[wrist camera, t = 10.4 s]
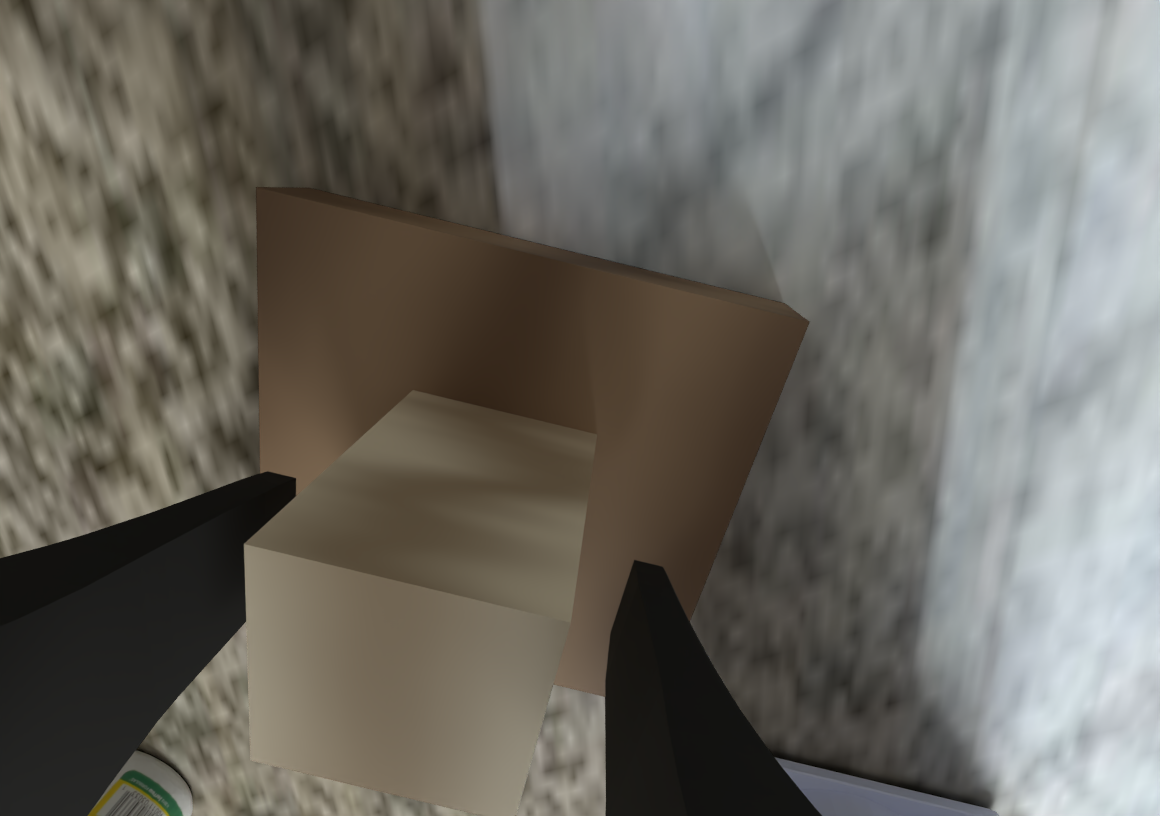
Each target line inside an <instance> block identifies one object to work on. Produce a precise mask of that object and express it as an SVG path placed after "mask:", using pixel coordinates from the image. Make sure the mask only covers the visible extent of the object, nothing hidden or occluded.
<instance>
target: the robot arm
mask: <svg viewBox="0 0 1160 816" xmlns="http://www.w3.org/2000/svg"><path fill="white" fill-rule="evenodd" d="M295 497H296V478H294V477H290V476H285V475H281V474H277V473H273V472H269V471H267V472H264V473H260V474H257V475H254V476H251V477H248V478H245V479H242V480H239V481H236V482H234V483H231V484H228V485H226V486H223V487H220V488H217V489H215V490H212V491H209V492H207V493H204V494H201V495H199V496H196V497H193V498H190V499H188V500H185V501H182V502H179V503H177V504H174V505H171V506H168V507H166V508H163V509H160V510H157V511H155V512H152V513H149V514H146V515H143V516H140V517H137V518H134V519H131V520H128V521H125V522H122V523H119V524H116V525H113V526H110V527H107V528H104V529H101V530H98V531H95V532H92V533H89V534H86V535H82V536H79V537H76V538H72V539H69V540H66V541H62V542H59V543H55V544H52V545H48V546H45V547H41V548H37V549H34V550H30V551H26V552H22V553H18V554H15V555H11V556H7V557H3V558H0V816H88V815H89V813H90V812H91V810H92V809H93V808H94V806H95V805H96V803H97V802H98V801H99V799H100V798H101V796H102V795H103V794H104V792H105V791H106V790H107V788H108V787H109V785H110V784H111V783H112V781H113V780H114V778H115V777H116V776H117V774H118V773H119V772H120V770H121V769H122V768H123V766H124V765H125V764H126V762H127V761H128V760H129V758H130V757H131V756H132V754H133V753H134V752H135V750H136V749H137V748H138V747H139V745H140V744H141V743H142V741H143V740H144V739H145V737H146V736H147V735H148V733H149V732H150V731H151V729H152V728H153V727H154V725H155V724H156V723H157V721H158V720H159V719H160V718H161V716H162V715H163V714H164V713H165V712H166V711H167V709H168V708H169V707H170V706H171V705H172V703H173V702H174V701H175V700H176V699H177V697H178V696H179V695H180V694H181V693H182V692H183V691H184V690H185V688H186V687H187V686H188V685H189V684H190V683H191V682H192V681H193V680H194V679H195V677H196V676H197V675H198V674H199V673H200V672H201V671H202V670H203V669H204V667H205V666H206V665H207V664H208V663H209V662H210V661H211V660H212V659H213V657H214V656H215V655H216V654H217V653H218V652H219V651H220V650H221V649H222V648H223V646H224V645H225V644H226V643H227V642H228V641H229V640H230V639H231V638H232V636H233V635H234V634H235V633H236V632H237V631H238V630H239V629H240V628H241V626H242V625H243V624H244V623H245V622H246V596H245V564H244V543H246V542H247V541H248V540H249V539H250V538H251V537H252V536H253V535H254V534H255V533H257V532H258V531H259V530H260V529H261V528H262V527H263V526H264V525H265V524H266V523H268V522H269V521H270V520H271V519H272V518H273V517H274V516H275V515H276V514H277V513H278V512H280V511H281V510H282V509H283V508H284V507H285V506H286V505H287V504H288V503H289V502H291V501H292V500H293V499H294V498H295ZM605 729H606V816H999V815H998V814H997V813H996V812H995V811H993V810H991V809H988V808H984V807H980V806H975V805H971V804H967V803H963V802H959V801H955V800H950V799H946V798H942V797H938V796H934V795H930V794H926V793H921V792H917V791H913V790H909V789H905V788H901V787H896V786H892V785H888V784H884V783H880V782H876V781H872V780H867V779H863V778H859V777H855V776H851V775H847V774H843V773H838V772H834V771H830V770H826V769H822V768H818V767H813V766H809V765H805V764H801V763H797V762H793V761H789V760H784V759H780V758H776V757H774V756H773V755H772V754H771V752H770V751H769V750H768V748H767V747H766V746H765V744H764V743H763V741H762V740H761V739H760V737H759V736H758V734H757V733H756V732H755V730H754V729H753V727H752V726H751V724H750V723H749V722H748V720H747V719H746V717H745V716H744V715H743V713H742V712H741V710H740V709H739V707H738V705H737V704H736V702H735V701H734V699H733V698H732V696H731V694H730V693H729V691H728V690H727V688H726V686H725V685H724V683H723V681H722V680H721V678H720V676H719V675H718V673H717V671H716V670H715V668H714V666H713V664H712V663H711V661H710V659H709V657H708V656H707V654H706V652H705V650H704V648H703V646H702V644H701V643H700V641H699V639H698V637H697V635H696V633H695V631H694V629H693V627H692V626H691V624H690V622H689V620H688V618H687V616H686V613H685V611H684V609H683V607H682V605H681V603H680V601H679V599H678V597H677V595H676V593H675V590H674V588H673V586H672V584H671V582H670V579H669V577H668V575H667V573H666V571H665V569H664V568H663V567H662V566H658V565H654V564H650V563H646V562H641V561H637V560H634V562H633V565H632V568H631V571H630V574H629V577H628V580H627V583H626V587H625V590H624V593H623V596H622V599H621V602H620V605H619V608H618V611H617V614H616V617H615V620H614V623H613V626H612V629H611V632H610V641H609V650H608V659H607V669H606V679H605Z"/></svg>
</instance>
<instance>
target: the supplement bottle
mask: <svg viewBox="0 0 1160 816" xmlns="http://www.w3.org/2000/svg"><path fill="white" fill-rule="evenodd" d="M192 809H193V800H192V794H191V792H190V789H189V787H188V785H187V784H186V782H185V781H184V780H183V779H182V777H181V776H180V775H179V774H178V773H177V772H176V771H175V770H173V769H172V768H171V767H170V766H168V765H167V764H165V763H164V762H162V761H160V760H159V759H157V758H155V757H153V756H151V755H148V754H146V753H143V752H140V751H137V750H135V752H134V753H133V754H132V756H131V757H130V758H129V760H128V761H127V762H126V764H125V765H124V766H123V768H122V769H121V770H120V772H119V773H118V774H117V776H116V777H115V778H114V780H113V781H112V783H111V784H110V785H109V787H108V788H107V790H106V791H105V792H104V794H103V795H102V796H101V798H100V799H99V801H98V802H97V803H96V805H95V806H94V808H93V809H92V810H91V812H90V813H89V815H88V816H191V814H192Z"/></svg>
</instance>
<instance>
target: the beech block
mask: <svg viewBox="0 0 1160 816" xmlns="http://www.w3.org/2000/svg"><path fill="white" fill-rule="evenodd" d="M596 439H597V434H593V433H589V432H585V431H581V430H577V429H572V428H568V427H564V426H560V425H556V424H552V423H547V422H543V421H539V420H535V419H531V418H527V417H523V416H518V415H514V414H510V413H506V412H502V411H498V410H494V409H489V408H485V407H481V406H477V405H473V404H469V403H465V402H460V401H456V400H452V399H448V398H444V397H440V396H436V395H431V394H427V393H423V392H419V391H415V390H412V391H411V392H410V393H409V394H408V395H407V396H406V397H405V398H404V399H402V400H401V401H400V402H399V403H398V404H397V405H396V406H395V407H394V408H393V409H392V410H390V411H389V412H388V413H387V414H386V415H385V416H384V417H383V418H382V419H381V420H379V421H378V422H377V423H376V424H375V425H374V426H373V427H372V428H371V429H370V430H368V431H367V432H366V433H365V434H364V435H363V436H362V437H361V438H360V439H359V440H357V441H356V442H355V443H354V444H353V445H352V446H351V447H350V448H349V449H348V450H347V451H345V452H344V453H343V454H342V455H341V456H340V457H339V458H338V459H337V460H336V461H334V462H333V463H332V464H331V465H330V466H329V467H328V468H327V469H326V470H325V471H323V472H322V473H321V474H320V475H319V476H318V477H317V478H316V479H315V480H314V481H312V482H311V483H310V484H309V485H308V486H307V487H306V488H305V489H304V490H303V491H302V492H300V493H299V494H298V495H297V496H296V497H295V498H294V499H293V500H292V501H291V502H289V503H288V504H287V505H286V506H285V507H284V508H283V509H282V510H281V511H280V512H278V513H277V514H276V515H275V516H274V517H273V518H272V519H271V520H270V521H269V522H268V523H266V524H265V525H264V526H263V527H262V528H261V529H260V530H259V531H258V532H257V533H255V534H254V535H253V536H252V537H251V538H250V539H249V540H248V541H247V542H246V543H244V564H245V596H246V629H247V662H248V694H249V727H250V760H251V761H255V762H259V763H263V764H267V765H272V766H276V767H280V768H284V769H288V770H292V771H297V772H301V773H305V774H309V775H313V776H317V777H322V778H326V779H330V780H334V781H338V782H342V783H347V784H351V785H355V786H359V787H363V788H368V789H372V790H376V791H380V792H384V793H388V794H393V795H397V796H401V797H405V798H409V799H413V800H418V801H422V802H426V803H430V804H434V805H439V806H443V807H447V808H451V809H455V810H459V811H464V812H468V813H472V814H476V815H480V816H516V814H517V811H518V807H519V804H520V800H521V797H522V793H523V790H524V786H525V783H526V779H527V775H528V772H529V768H530V765H531V761H532V758H533V754H534V751H535V747H536V744H537V740H538V737H539V733H540V730H541V726H542V723H543V719H544V716H545V712H546V709H547V705H548V701H549V698H550V694H551V691H552V687H553V684H554V680H555V677H556V673H557V670H558V666H559V663H560V659H561V656H562V652H563V649H564V645H565V642H566V638H567V634H568V631H569V627H570V624H571V618H572V611H573V604H574V597H575V589H576V582H577V575H578V568H579V561H580V554H581V547H582V539H583V532H584V525H585V518H586V511H587V504H588V496H589V489H590V482H591V475H592V468H593V461H594V453H595V446H596Z"/></svg>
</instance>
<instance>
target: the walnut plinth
mask: <svg viewBox="0 0 1160 816" xmlns="http://www.w3.org/2000/svg"><path fill="white" fill-rule="evenodd" d="M256 214H257V286H258V358H259V430H260V473H264V472H267V471H269V472H273V473H277V474H281V475H285V476H290V477H294V478H296V496H297V495H298V494H299V493H300V492H302V491H303V490H304V489H305V488H306V487H307V486H308V485H309V484H310V483H311V482H312V481H314V480H315V479H316V478H317V477H318V476H319V475H320V474H321V473H322V472H323V471H325V470H326V469H327V468H328V467H329V466H330V465H331V464H332V463H333V462H334V461H336V460H337V459H338V458H339V457H340V456H341V455H342V454H343V453H344V452H345V451H347V450H348V449H349V448H350V447H351V446H352V445H353V444H354V443H355V442H356V441H357V440H359V439H360V438H361V437H362V436H363V435H364V434H365V433H366V432H367V431H368V430H370V429H371V428H372V427H373V426H374V425H375V424H376V423H377V422H378V421H379V420H381V419H382V418H383V417H384V416H385V415H386V414H387V413H388V412H389V411H390V410H392V409H393V408H394V407H395V406H396V405H397V404H398V403H399V402H400V401H401V400H402V399H404V398H405V397H406V396H407V395H408V394H409V393H410V392H411V391H412V390H415V391H419V392H423V393H427V394H431V395H436V396H440V397H444V398H448V399H452V400H456V401H460V402H465V403H469V404H473V405H477V406H481V407H485V408H489V409H494V410H498V411H502V412H506V413H510V414H514V415H518V416H523V417H527V418H531V419H535V420H539V421H543V422H547V423H552V424H556V425H560V426H564V427H568V428H572V429H577V430H581V431H585V432H589V433H593V434H597V439H596V446H595V453H594V461H593V468H592V475H591V482H590V489H589V496H588V504H587V511H586V518H585V525H584V532H583V539H582V547H581V554H580V561H579V568H578V575H577V582H576V589H575V597H574V604H573V611H572V618H571V624H570V627H569V631H568V634H567V638H566V642H565V645H564V649H563V652H562V656H561V659H560V663H559V666H558V670H557V673H556V677H555V680H554V685H558V686H562V687H567V688H571V689H575V690H579V691H583V692H587V693H592V694H596V695H600V696H604V697H605V679H606V669H607V659H608V650H609V641H610V632H611V629H612V626H613V623H614V620H615V617H616V614H617V611H618V608H619V605H620V602H621V599H622V596H623V593H624V590H625V587H626V583H627V580H628V577H629V574H630V571H631V568H632V565H633V562H634V560H637V561H641V562H646V563H650V564H654V565H658V566H662V567H663V568H664V569H665V571H666V573H667V575H668V577H669V579H670V582H671V584H672V586H673V588H674V590H675V593H676V595H677V597H678V599H679V601H680V603H681V605H682V607H683V609H684V611H685V613H686V616H687V618H688V620H689V622H690V620H691V617H692V615H693V612H694V610H695V607H696V605H697V602H698V600H699V597H700V595H701V592H702V590H703V587H704V585H705V582H706V580H707V577H708V575H709V572H710V570H711V567H712V565H713V562H714V560H715V557H716V555H717V552H718V550H719V547H720V545H721V542H722V540H723V537H724V535H725V532H726V530H727V527H728V525H729V522H730V520H731V517H732V515H733V512H734V510H735V507H736V505H737V502H738V500H739V497H740V495H741V492H742V490H743V487H744V485H745V482H746V480H747V477H748V475H749V472H750V470H751V467H752V465H753V462H754V460H755V457H756V455H757V452H758V450H759V447H760V445H761V442H762V440H763V437H764V435H765V432H766V430H767V427H768V425H769V422H770V420H771V417H772V415H773V412H774V410H775V407H776V405H777V402H778V400H779V397H780V395H781V392H782V390H783V387H784V385H785V382H786V380H787V377H788V375H789V372H790V370H791V367H792V365H793V362H794V360H795V357H796V355H797V352H798V350H799V347H800V345H801V342H802V340H803V337H804V335H805V332H806V330H807V327H808V325H809V321H808V320H807V319H805V318H804V317H802V316H801V315H800V314H798V313H797V312H796V311H794V310H793V309H792V308H790V307H789V306H787V305H786V304H785V303H781V302H777V301H773V300H769V299H764V298H760V297H756V296H752V295H748V294H744V293H740V292H736V291H731V290H727V289H723V288H719V287H715V286H711V285H707V284H703V283H699V282H694V281H690V280H686V279H682V278H678V277H674V276H670V275H666V274H662V273H657V272H653V271H649V270H645V269H641V268H637V267H633V266H629V265H625V264H620V263H616V262H612V261H608V260H604V259H600V258H596V257H592V256H587V255H583V254H579V253H575V252H571V251H567V250H563V249H559V248H555V247H550V246H546V245H542V244H538V243H534V242H530V241H526V240H522V239H518V238H513V237H509V236H505V235H501V234H497V233H493V232H489V231H485V230H481V229H476V228H472V227H468V226H464V225H460V224H456V223H452V222H448V221H443V220H439V219H435V218H431V217H427V216H423V215H419V214H415V213H411V212H406V211H402V210H398V209H394V208H390V207H386V206H382V205H378V204H374V203H369V202H365V201H361V200H357V199H353V198H349V197H345V196H341V195H337V194H332V193H328V192H324V191H320V190H316V189H312V188H279V187H256Z"/></svg>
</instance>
